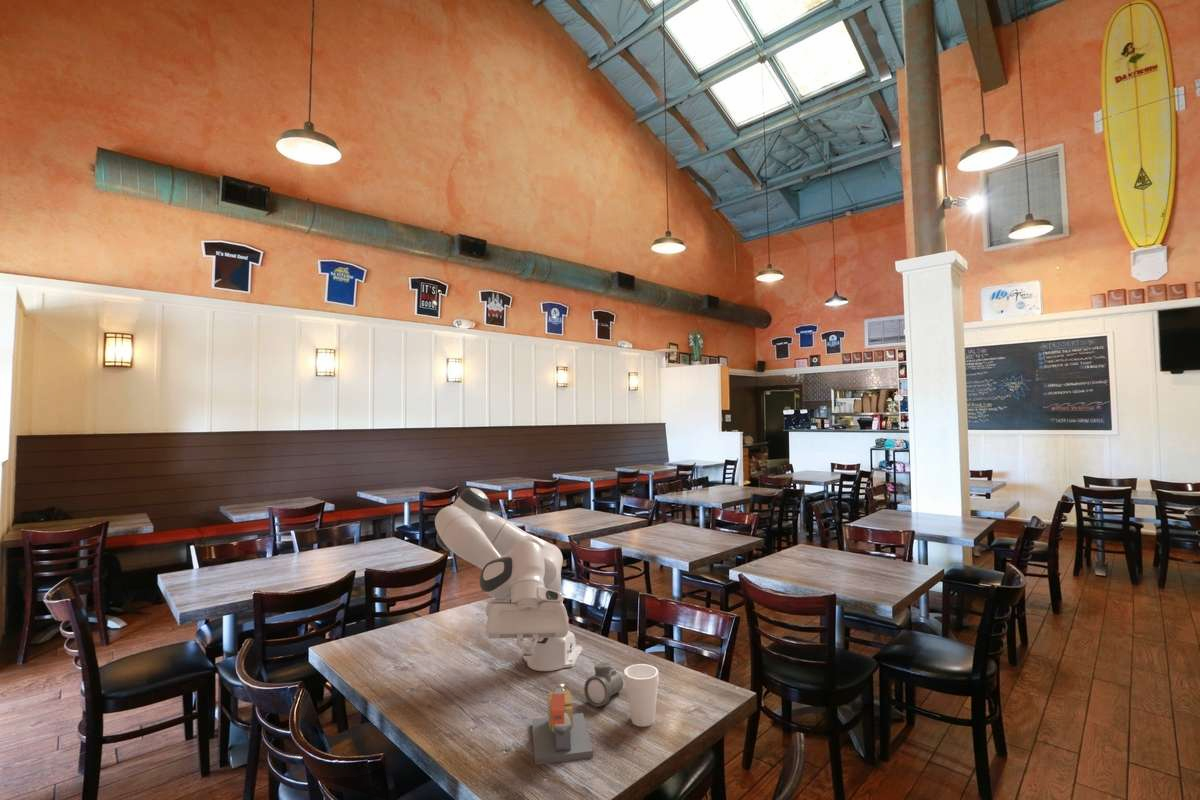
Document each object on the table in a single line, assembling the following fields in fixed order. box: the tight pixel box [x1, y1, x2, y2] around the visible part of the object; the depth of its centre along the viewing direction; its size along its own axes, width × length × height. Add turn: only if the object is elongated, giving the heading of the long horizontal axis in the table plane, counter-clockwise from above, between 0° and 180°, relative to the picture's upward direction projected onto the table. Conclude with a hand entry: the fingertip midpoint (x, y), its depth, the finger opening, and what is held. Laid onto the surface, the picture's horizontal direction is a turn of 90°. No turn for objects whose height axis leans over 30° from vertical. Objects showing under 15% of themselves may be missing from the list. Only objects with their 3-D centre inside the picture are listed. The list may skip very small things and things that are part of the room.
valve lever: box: [551, 681, 566, 725], centre depth 133 cm, size 16×3×3 cm, turn 3°
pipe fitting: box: [583, 662, 624, 708], centre depth 160 cm, size 12×8×10 cm
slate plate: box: [531, 712, 594, 766], centre depth 139 cm, size 14×18×2 cm
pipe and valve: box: [546, 688, 574, 752], centre depth 139 cm, size 6×16×11 cm, turn 9°
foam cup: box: [623, 663, 660, 728], centre depth 148 cm, size 10×9×13 cm
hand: (527, 655), depth 129 cm, fingers closed
